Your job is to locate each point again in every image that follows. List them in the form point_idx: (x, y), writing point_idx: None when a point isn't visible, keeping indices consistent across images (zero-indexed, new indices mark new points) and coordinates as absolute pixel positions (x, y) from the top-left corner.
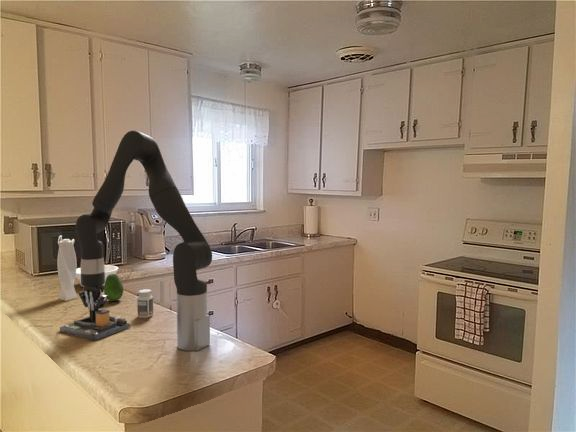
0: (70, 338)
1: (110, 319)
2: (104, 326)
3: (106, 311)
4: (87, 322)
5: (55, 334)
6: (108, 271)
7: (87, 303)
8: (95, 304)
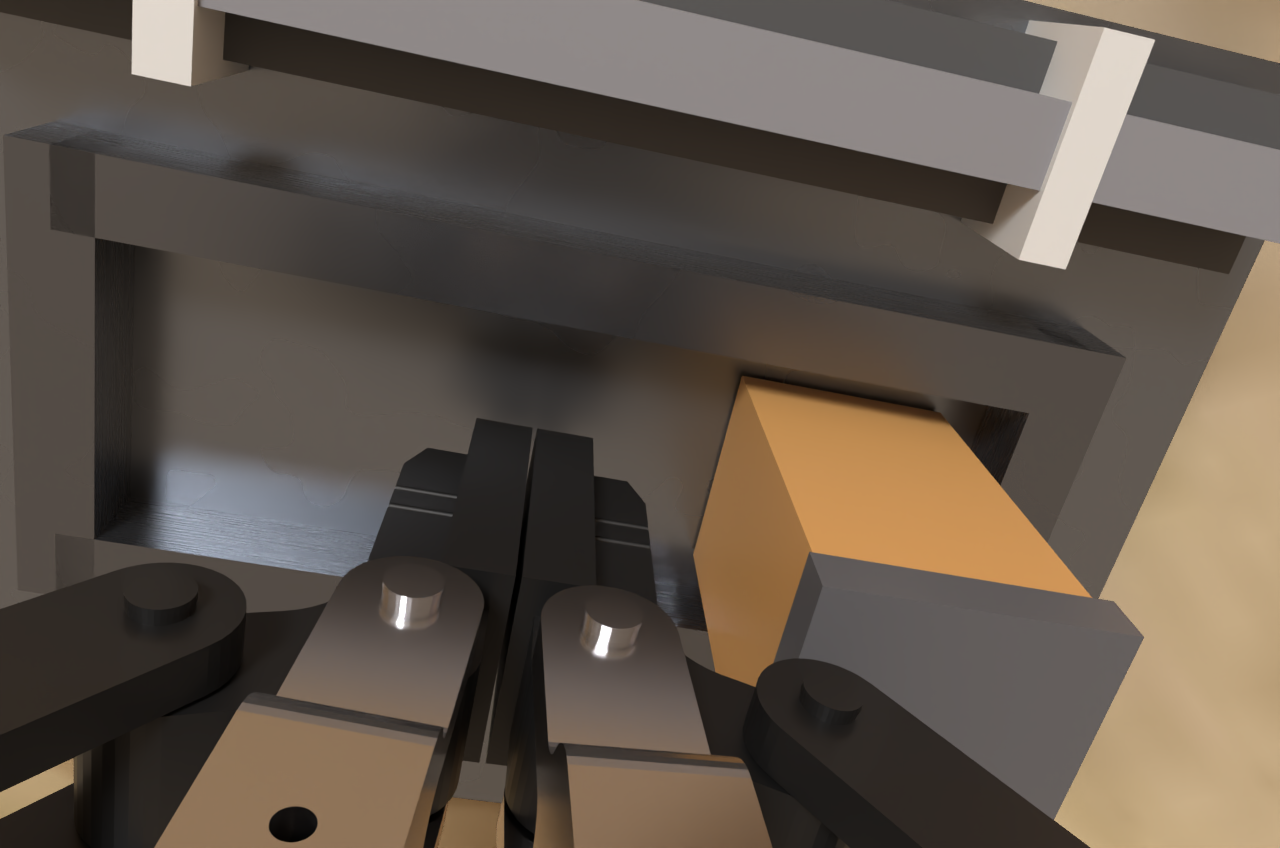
0: (474, 831)
1: (794, 160)
2: None
3: (1092, 735)
4: (216, 337)
5: (61, 785)
6: None
7: (132, 842)
8: (461, 696)
